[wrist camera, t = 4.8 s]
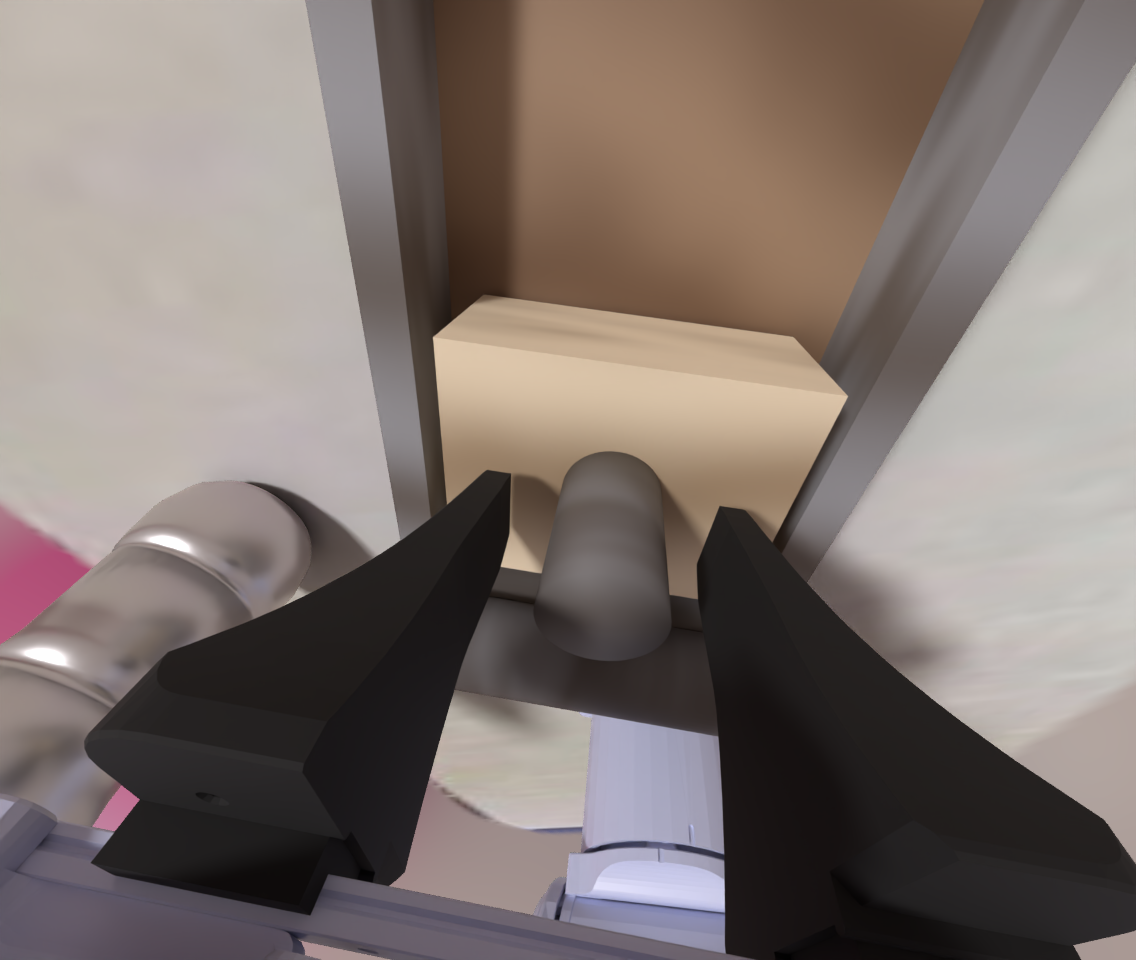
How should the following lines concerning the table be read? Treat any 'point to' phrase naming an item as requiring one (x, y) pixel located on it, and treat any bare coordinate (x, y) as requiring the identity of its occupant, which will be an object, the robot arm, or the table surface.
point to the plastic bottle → (137, 630)
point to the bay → (695, 219)
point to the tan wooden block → (623, 451)
